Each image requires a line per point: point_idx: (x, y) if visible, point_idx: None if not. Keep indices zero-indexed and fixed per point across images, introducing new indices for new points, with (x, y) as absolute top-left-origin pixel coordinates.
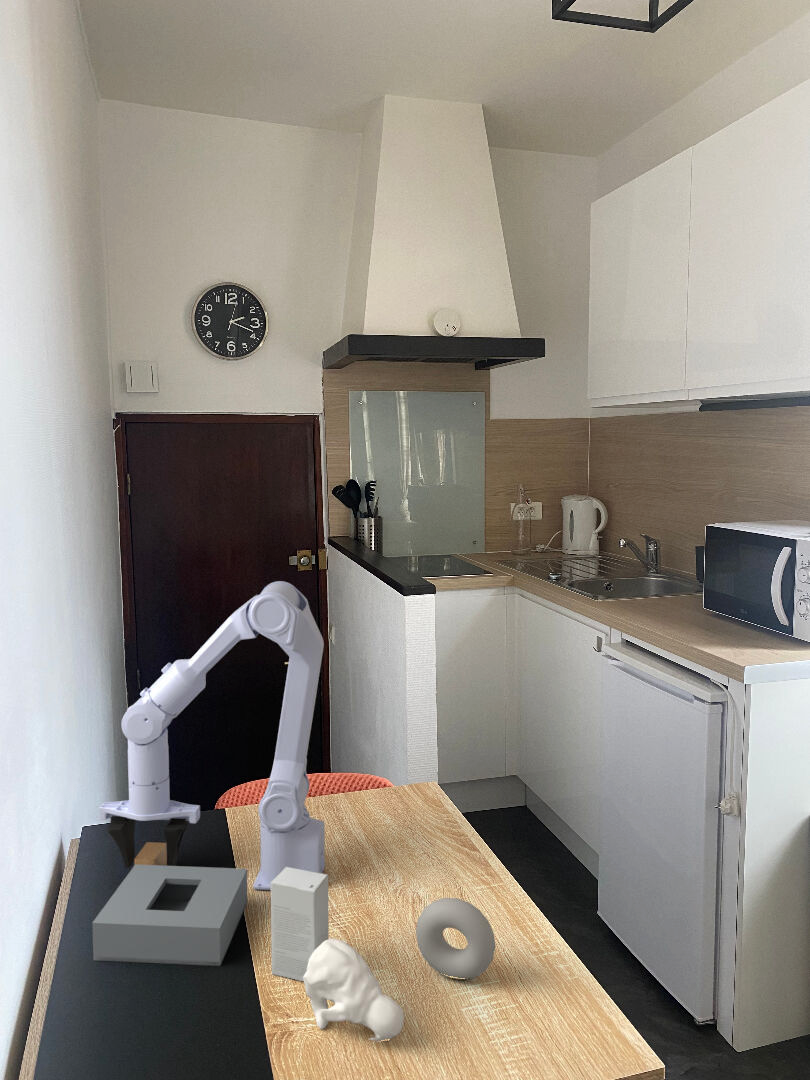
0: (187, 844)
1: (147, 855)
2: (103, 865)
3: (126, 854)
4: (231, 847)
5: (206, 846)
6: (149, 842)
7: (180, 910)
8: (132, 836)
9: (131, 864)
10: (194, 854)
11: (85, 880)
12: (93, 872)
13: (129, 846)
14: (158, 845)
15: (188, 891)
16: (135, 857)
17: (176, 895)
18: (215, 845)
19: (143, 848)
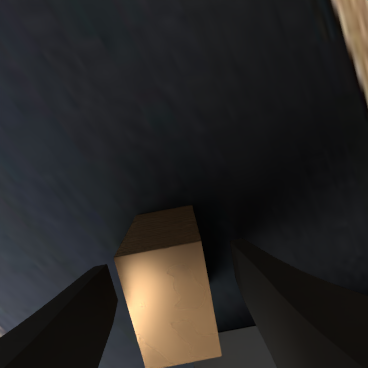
0: (184, 53)
1: (179, 341)
2: (11, 242)
3: (99, 362)
4: (342, 34)
5: (255, 50)
6: (125, 255)
7: None
8: (51, 352)
9: (113, 286)
10: (237, 114)
11: (24, 312)
12: (14, 278)
13: (82, 355)
14: (179, 268)
15: None
16: (144, 362)
17: None
18: (283, 34)
19: (133, 305)
